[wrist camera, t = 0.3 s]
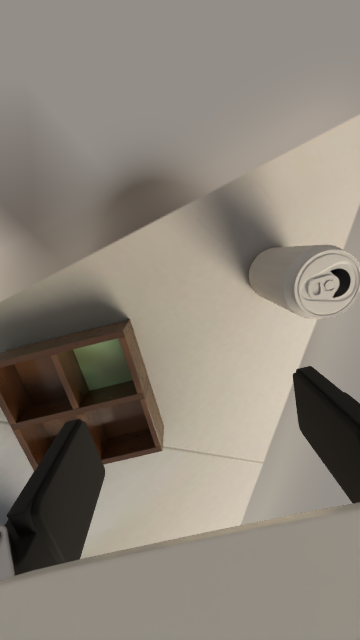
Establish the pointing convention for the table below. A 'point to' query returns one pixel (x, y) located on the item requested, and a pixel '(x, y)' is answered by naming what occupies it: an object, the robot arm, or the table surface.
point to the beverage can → (307, 279)
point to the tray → (82, 393)
